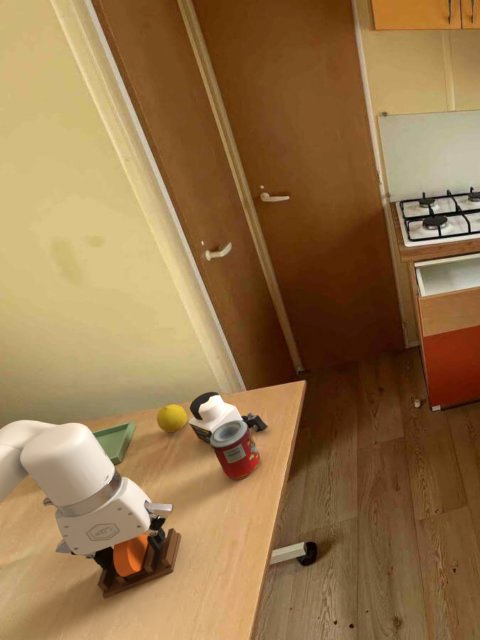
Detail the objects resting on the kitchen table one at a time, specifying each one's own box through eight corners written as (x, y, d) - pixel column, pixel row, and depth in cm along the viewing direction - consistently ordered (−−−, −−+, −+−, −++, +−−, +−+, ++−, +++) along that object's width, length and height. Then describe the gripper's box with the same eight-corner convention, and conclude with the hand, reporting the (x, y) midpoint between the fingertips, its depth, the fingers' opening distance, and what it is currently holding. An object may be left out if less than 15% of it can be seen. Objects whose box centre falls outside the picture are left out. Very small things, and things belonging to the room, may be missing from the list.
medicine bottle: (199, 440, 102) (178, 407, 96) (225, 417, 108) (206, 384, 102) (221, 449, 100) (200, 416, 94) (246, 424, 106) (228, 392, 100)
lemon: (158, 436, 103) (145, 413, 100) (179, 418, 108) (167, 396, 104) (176, 441, 102) (164, 417, 98) (197, 423, 107) (185, 400, 103)
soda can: (266, 466, 96) (251, 429, 90) (232, 488, 91) (213, 451, 86) (255, 448, 100) (239, 412, 95) (222, 468, 96) (203, 431, 90)
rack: (104, 598, 74) (95, 588, 72) (117, 558, 79) (109, 548, 78) (173, 571, 77) (166, 561, 76) (181, 535, 83) (174, 524, 81)
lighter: (246, 436, 106) (233, 421, 105) (253, 430, 108) (240, 415, 107) (261, 432, 102) (247, 416, 101) (268, 426, 104) (255, 410, 103)
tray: (39, 487, 92) (34, 481, 91) (62, 447, 101) (57, 441, 100) (121, 462, 97) (117, 456, 96) (135, 426, 106) (132, 420, 105)
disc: (127, 585, 74) (107, 560, 70) (141, 541, 80) (123, 516, 77) (141, 580, 75) (122, 555, 71) (154, 537, 81) (137, 512, 77)
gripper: (4, 536, 62) (64, 598, 70) (149, 489, 68) (188, 550, 76) (29, 491, 68) (82, 553, 76) (160, 452, 74) (196, 513, 82)
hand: (135, 551), depth 76 cm, fingers open, 6 cm apart
